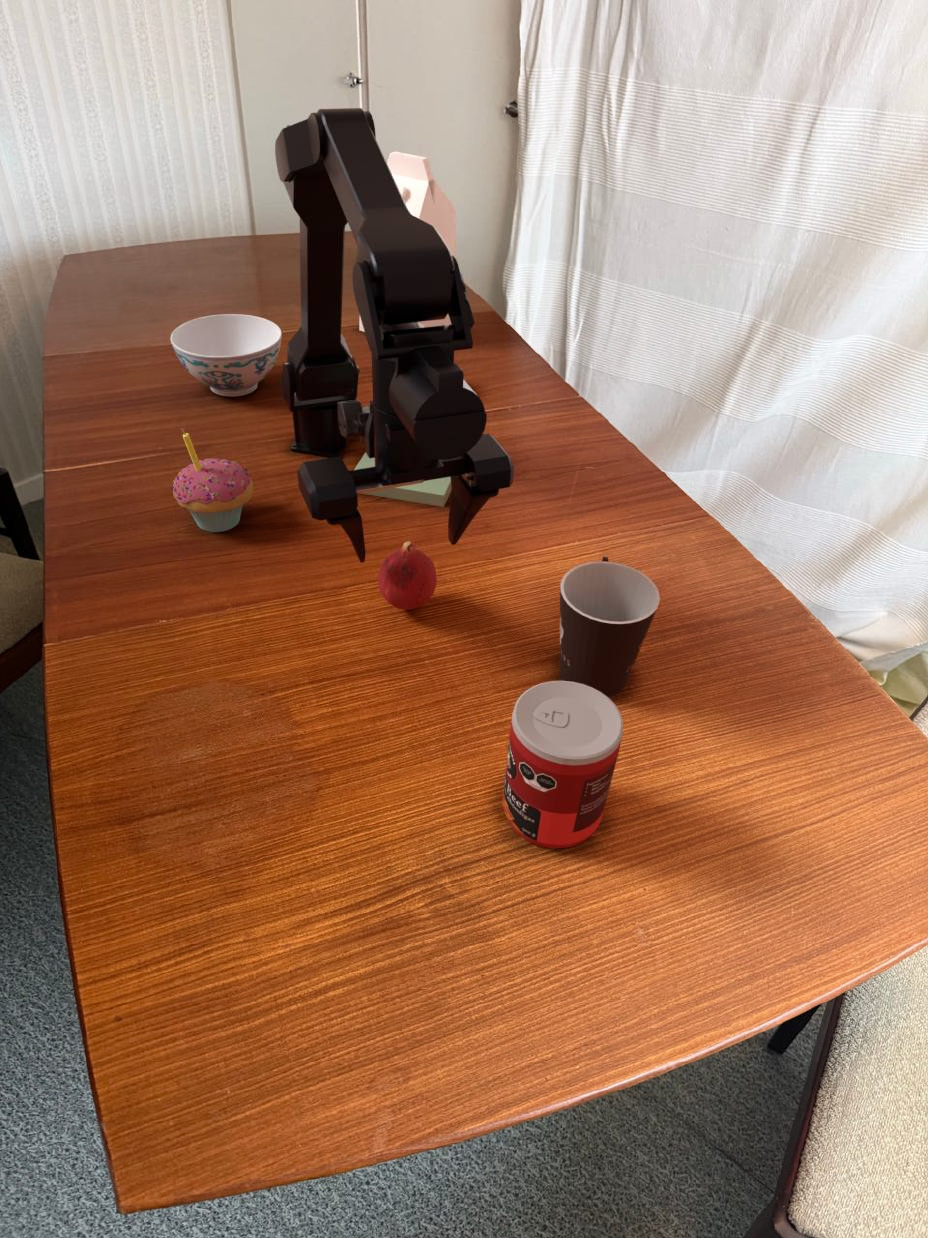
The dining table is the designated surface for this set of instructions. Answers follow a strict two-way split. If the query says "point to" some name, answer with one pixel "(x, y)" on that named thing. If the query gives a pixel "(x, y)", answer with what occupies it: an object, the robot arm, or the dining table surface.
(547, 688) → the canned food
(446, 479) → the green flat block
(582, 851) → the dining table surface
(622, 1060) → the dining table surface
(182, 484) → the cupcake
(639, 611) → the coffee mug
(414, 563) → the onion
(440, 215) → the milk
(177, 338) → the chinaware
